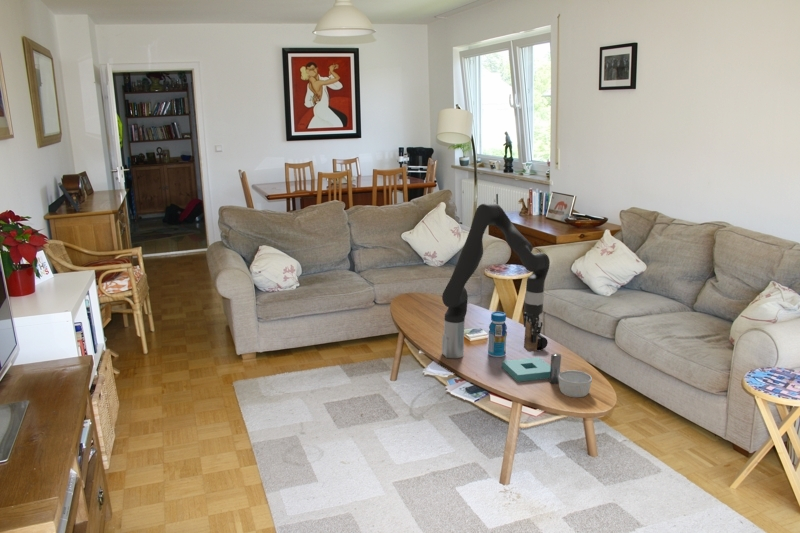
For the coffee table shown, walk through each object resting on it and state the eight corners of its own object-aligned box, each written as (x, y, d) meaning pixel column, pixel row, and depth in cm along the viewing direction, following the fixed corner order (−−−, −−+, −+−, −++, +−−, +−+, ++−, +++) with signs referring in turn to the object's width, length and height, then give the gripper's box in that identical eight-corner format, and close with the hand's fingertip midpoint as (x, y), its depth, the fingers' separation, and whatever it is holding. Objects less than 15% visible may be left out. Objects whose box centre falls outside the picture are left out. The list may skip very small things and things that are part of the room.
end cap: (547, 350, 318) (548, 336, 316) (533, 351, 316) (534, 338, 314) (537, 343, 327) (538, 330, 325) (524, 344, 325) (524, 331, 323)
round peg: (552, 384, 280) (554, 357, 277) (547, 380, 283) (549, 353, 280) (560, 383, 281) (562, 356, 278) (556, 379, 284) (558, 353, 281)
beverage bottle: (484, 354, 311) (485, 313, 307) (494, 349, 317) (496, 309, 313) (499, 359, 306) (501, 317, 301) (509, 354, 312) (511, 313, 307)
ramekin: (555, 395, 269) (556, 379, 267) (559, 383, 281) (560, 367, 279) (589, 401, 264) (590, 385, 263) (592, 388, 276) (593, 372, 274)
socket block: (517, 381, 282) (517, 375, 281) (502, 367, 297) (502, 360, 296) (556, 377, 286) (556, 370, 286) (538, 363, 301) (539, 357, 301)
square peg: (527, 351, 275) (530, 323, 272) (523, 347, 279) (525, 320, 276) (536, 350, 276) (539, 323, 273) (532, 347, 280) (534, 319, 277)
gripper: (518, 296, 278) (515, 335, 283) (533, 307, 265) (529, 347, 269) (534, 295, 280) (531, 334, 284) (550, 306, 267) (546, 346, 271)
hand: (530, 340), depth 277 cm, fingers closed on square peg, 4 cm apart
